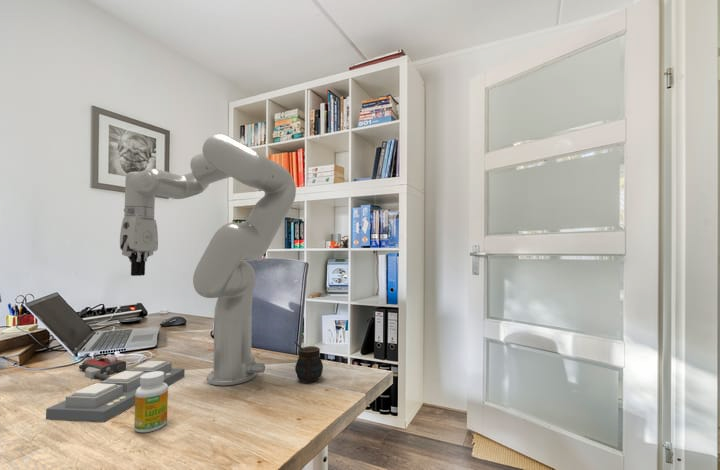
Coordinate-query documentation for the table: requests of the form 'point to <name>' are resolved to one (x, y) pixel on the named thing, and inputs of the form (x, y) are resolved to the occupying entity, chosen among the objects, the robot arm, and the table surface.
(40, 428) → the table surface
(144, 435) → the table surface
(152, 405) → the supplement bottle
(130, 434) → the table surface
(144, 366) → the button
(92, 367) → the walkie-talkie
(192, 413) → the table surface
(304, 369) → the mate gourd
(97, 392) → the button
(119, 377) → the button
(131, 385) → the button panel
